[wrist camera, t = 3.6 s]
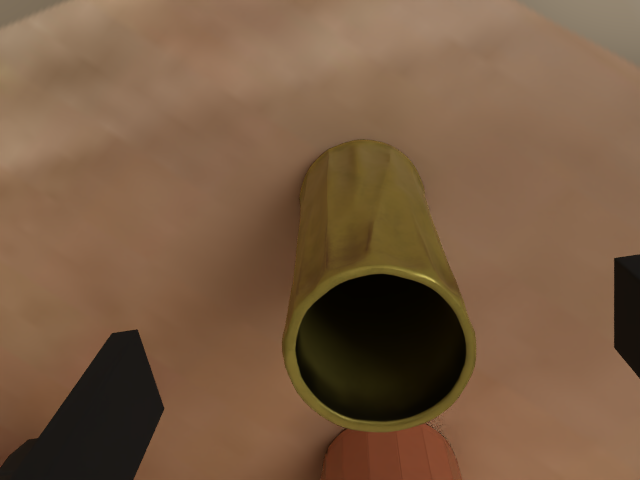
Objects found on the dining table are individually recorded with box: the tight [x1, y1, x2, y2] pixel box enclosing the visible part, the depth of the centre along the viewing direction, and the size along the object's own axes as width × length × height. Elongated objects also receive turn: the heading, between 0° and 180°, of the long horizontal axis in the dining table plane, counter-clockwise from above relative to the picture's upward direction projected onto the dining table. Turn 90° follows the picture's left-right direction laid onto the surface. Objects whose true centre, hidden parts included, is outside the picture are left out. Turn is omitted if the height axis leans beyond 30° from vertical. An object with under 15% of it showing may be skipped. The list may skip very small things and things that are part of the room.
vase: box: [282, 140, 476, 432], centre depth 22 cm, size 6×6×14 cm
